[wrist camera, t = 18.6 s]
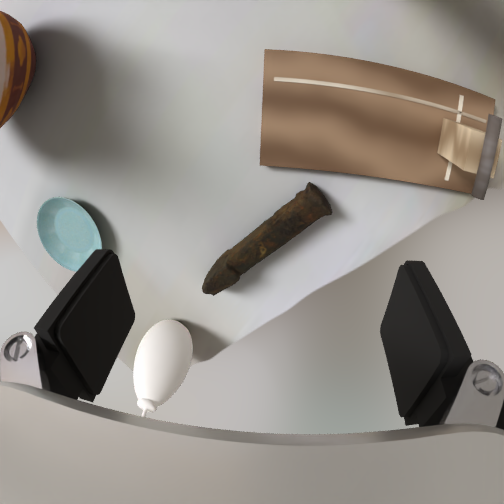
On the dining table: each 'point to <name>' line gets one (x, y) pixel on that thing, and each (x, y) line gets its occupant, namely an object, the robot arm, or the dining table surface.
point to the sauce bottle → (161, 363)
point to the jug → (14, 65)
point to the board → (363, 118)
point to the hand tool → (267, 238)
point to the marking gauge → (472, 150)
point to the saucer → (67, 232)
